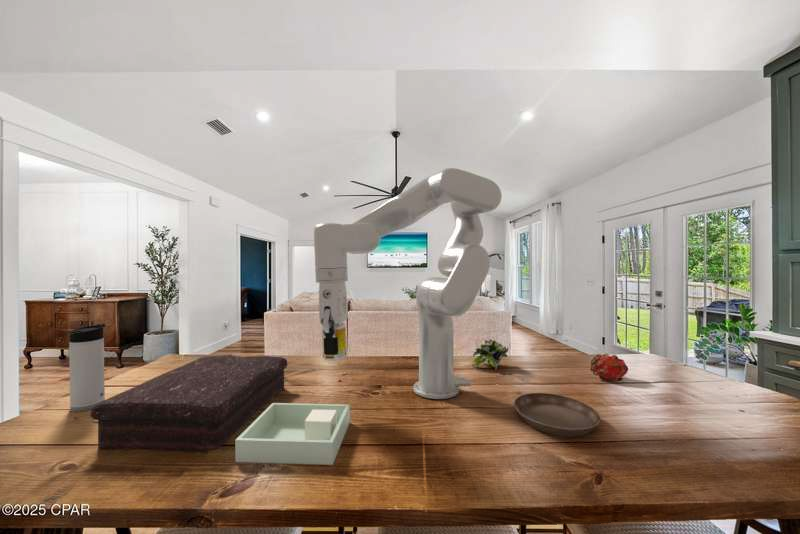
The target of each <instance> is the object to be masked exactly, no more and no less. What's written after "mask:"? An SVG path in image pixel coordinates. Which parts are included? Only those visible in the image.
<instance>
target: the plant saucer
mask: <svg viewBox="0 0 800 534" xmlns="http://www.w3.org/2000/svg"><path fill="white" fill-rule="evenodd" d="M513 404H514V405H513V406H514V408H515V410H516V411H517V413H518V415H519V416H520V417H521V419H522V420H523V421H524V422H525V423H526V424H528V425H529V426H531V427H532V428H534V429H536V430H538V431H539V432H543V433H546V434H549V435H555V436H560V437H567V438H568V437H569V438H570V437H571V438H572V437H573V438H574V437H581V436H585V435H586V434H589V433H591V432H592V431H593V430H594V429H596V427H598V425H599V423H600V422H601V416H600V414H599V413H598V411H597V410H596V409H595V408H593V407H592V406H590V405H589V404H588V403H584V402H582V401H580V400H578V399H575V398H572V397H568V396H565V395H561V394H555V393H549V392H547V393H546V392H530V393H526V394H525V393H524V394H522V395H520V396H518V397H516V399H515V400H514V401H513Z"/></svg>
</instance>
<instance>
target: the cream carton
mask: <svg viewBox="0 0 800 534" xmlns="http://www.w3.org/2000/svg"><path fill="white" fill-rule="evenodd" d="M336 426H337V410H314V409H313V410H312V411H311V413H310V414H309V415H308V417H307V418H306V420H305V440H330V439H331V436H332V434H333V432H334V430H335V428H336Z"/></svg>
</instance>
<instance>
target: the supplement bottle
mask: <svg viewBox="0 0 800 534" xmlns="http://www.w3.org/2000/svg"><path fill="white" fill-rule="evenodd" d="M330 324H334V321H333V322H330ZM330 328H332V329H333V327H330ZM346 336H347V335H346V324H345V323H344V322H343V323H342V324H341V325H338V323H337V331H336V337H338V354H337V355H325V354H324V338H323V328H322V327H321V340H322V341H321V344H322V345H321V346H322V358H323V359H324V361H327V362H336V361H337V362H338V361H342V360H344V359H346V357H347V340H346V339H347V337H346Z"/></svg>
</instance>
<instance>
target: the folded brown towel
mask: <svg viewBox="0 0 800 534" xmlns="http://www.w3.org/2000/svg"><path fill="white" fill-rule="evenodd" d="M287 360H288V359H287V358H285V357H282V356H266V355H255V356H252V355H251V356H242V355H241V356H239V355H237V356H236V355H207V356H202V357H199V358H197V359H194V360H193V361H190V362H188V363H186V364H184V365H182V366H180V367H177V368H174V369H172V370H169V371H166V372H165V373H162V374H160V375H157V376H155V377H153V378H151V379H149V380H147V381H145V382H142V383H141V384H137V385H136V386H134V387H131V388H129V389H127V390H125V391H122V392H120V393H117V394H116V395H114V396H113V395H112V397H109V398H106V399H105V400H104V401H102V402H100V403H98V404H97V405H96V406H94V407H93V408H92V409H91V410H90V418H92V419H93V420H95V421H97V433H98V434H97V437H98V438H97V443H98V444H97V449H98V450H100V451H101V450H102V451H104V450H105V451H107V450H110V451H113V450H117V451H118V450H119V451H120V450H121V449H122V450H142V451H144V450H145V451H146V450H147V451H148V450H149V451H150V450H153V451H156V450H157V451H158V450H159V451H174V452H175V451H178V452H179V451H180V452H181V451H182V452H191V453H199V454H200V453H201V454H202V453H203V454H208V453H210V452H209V451H216V450H218V449H221V448H222V447H223V446H224V445H225V444H226V443H227V442H228V441H229V440H231V438H233V436H234V435H235V434H236V433H237V432H238V431H239V430H240V429H241V428H242V427H243V426H244V425H245V424H246V423H247V422H248V421H249V420H250V419H251V418H252V417H253V416H254V415H255V414H256V413H257V412H258V411H259V410H260V409H261V408H262V407H264V406H265V405H266V404H268V402H269V401H270V400H272V399H274V398H277V397H278V396H279V395H280V394H281V393H282V392H283V391H284V390H285V369H286V368H287V367H288V361H287ZM281 391H282V392H281ZM280 392H281V393H280ZM279 393H280V394H279ZM278 394H279V395H278ZM277 395H278V396H277ZM276 396H277V397H276ZM122 450H121V451H122Z"/></svg>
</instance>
